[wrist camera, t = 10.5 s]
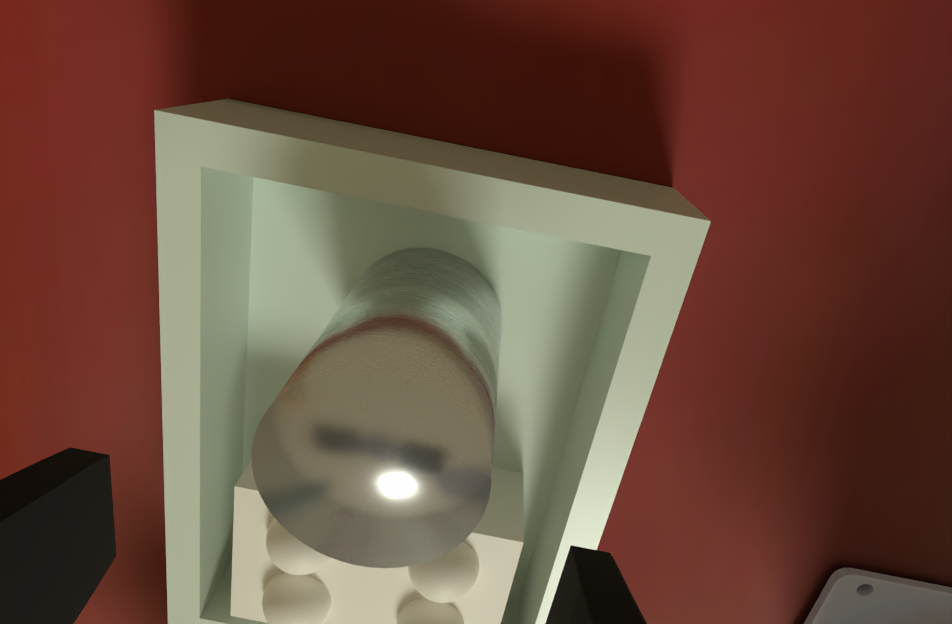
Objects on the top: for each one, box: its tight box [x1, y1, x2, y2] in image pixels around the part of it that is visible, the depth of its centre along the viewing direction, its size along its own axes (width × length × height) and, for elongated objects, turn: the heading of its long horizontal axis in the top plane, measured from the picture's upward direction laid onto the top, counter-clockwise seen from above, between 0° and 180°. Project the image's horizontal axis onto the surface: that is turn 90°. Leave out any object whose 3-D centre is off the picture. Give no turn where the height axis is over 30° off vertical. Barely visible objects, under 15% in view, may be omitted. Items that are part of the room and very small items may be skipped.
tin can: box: [251, 248, 502, 568], centre depth 14 cm, size 4×4×7 cm
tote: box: [154, 99, 711, 624], centre depth 18 cm, size 12×16×4 cm
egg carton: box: [230, 461, 524, 624], centre depth 18 cm, size 8×5×4 cm, turn 80°
